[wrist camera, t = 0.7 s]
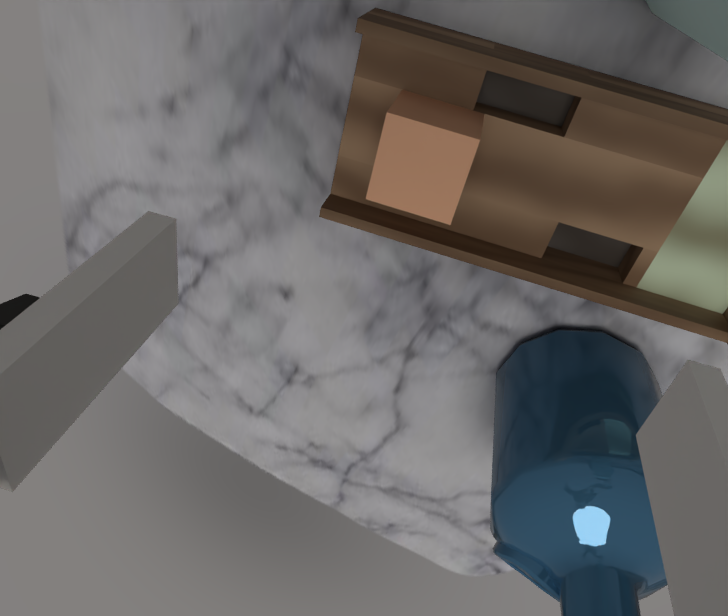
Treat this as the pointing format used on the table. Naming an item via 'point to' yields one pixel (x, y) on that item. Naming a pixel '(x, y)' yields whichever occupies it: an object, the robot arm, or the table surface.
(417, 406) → the table surface
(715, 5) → the water bottle
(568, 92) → the trap box
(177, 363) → the table surface
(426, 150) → the block
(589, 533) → the wine bottle
